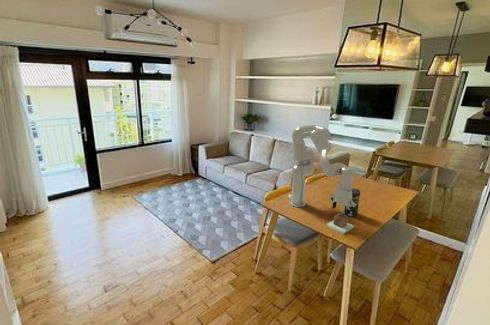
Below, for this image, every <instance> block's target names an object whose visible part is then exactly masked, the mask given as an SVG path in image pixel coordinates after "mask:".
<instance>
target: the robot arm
mask: <svg viewBox="0 0 490 325" xmlns="http://www.w3.org/2000/svg"><path fill="white" fill-rule="evenodd" d="M291 136H292V137H291V138H292V143H293V144H292V148H293V150H292V151H293V153H292V154H293V160H294V161H295V163H297V164H295V165H293V166H292V168H291V176H292V184H291V194H289V195H288V197H287V198H288V199H290V200H288V201H289V203H288V204H289V205H290V206H292V207H295V208H302V207H305V206H306V204H307V202H306V201H305V192H306V180H305V177H306V176H309V175H312V174H313V173H314V171H315V154H314V151H313V149H311V148H309V147H306V143H305V140H304V139H309V138H310V140H311V141H312V143H313V144H314V147H315V148H316V151H317V152H318V153H319V155H318V163H319V166H320V168H321V170H322V171H323V173H324V175H326V176H327V177H328V178H333V177H337V176H339V178H338V181H337V182H336V184H337V185H338V186H336V188H335V190H334V193H330V200H331V202H332V207H331V208H332V209H336V208H337V204H339V205H342V206H344V207H345V206H347V208H348V209H347V211H346V215H345V216H347V215H348V214H350V211H351V209H352V208H354V207H355V206H356V204H355V203H354V202H353V201H352V190H351V189H352V188H353V187H352V186H353V180H354V175H355V169H354V168H353V167H351V166H347V165H346V164H344V163H343V162H335V163H332V164H331V163H330V160H329V158H328V154H329V152H330V151H331V150H332V145H331V143H329V139H331V131H330V130H329V129H328V128H326V127H324V126H323V127H322V126H318V125H303V126H298V127H295V128H294V129H293V131H292V133H291ZM351 204H352V206H351Z"/></svg>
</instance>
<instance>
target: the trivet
mask: <svg viewBox="0 0 490 325" xmlns="http://www.w3.org/2000/svg"><path fill="white" fill-rule="evenodd" d="M333 223H334V219H333V220H332V221H329V222H327V223H326V227H328V228H329V229H332V230H334V231H336V232H337V233H340V234H342V235H344V234H346V233H347V232H349V231H351V230H352V229H354V228H355V225H353V224H351V223H349V222H347V225H346V226H345V227H343V228H340V227H338V226H336V225H334V224H333Z"/></svg>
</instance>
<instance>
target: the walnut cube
mask: <svg viewBox="0 0 490 325" xmlns="http://www.w3.org/2000/svg"><path fill="white" fill-rule="evenodd" d="M333 220H334V223H333V224H334V225H336V226H338V227H340V228H343V227H345V226H346V225H347V223H348V221H349V216H347V215H345V214H344V213H337V214H335V215H334V217H333Z"/></svg>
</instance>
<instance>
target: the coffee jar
mask: <svg viewBox="0 0 490 325" xmlns="http://www.w3.org/2000/svg"><path fill="white" fill-rule="evenodd" d="M351 190H352V201H353V202H354V203H355V204H356V206H355V207H354V208H352V209H351V211H350V214H348V215H346V211H347V209H348V208H347V206H344V208H343V215H345V216H348V217H356V216H357V214H358V213H359V203H360V197H361V190H360V189H359V188H355V187H352V188H351ZM351 206H352V204H351Z"/></svg>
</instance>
